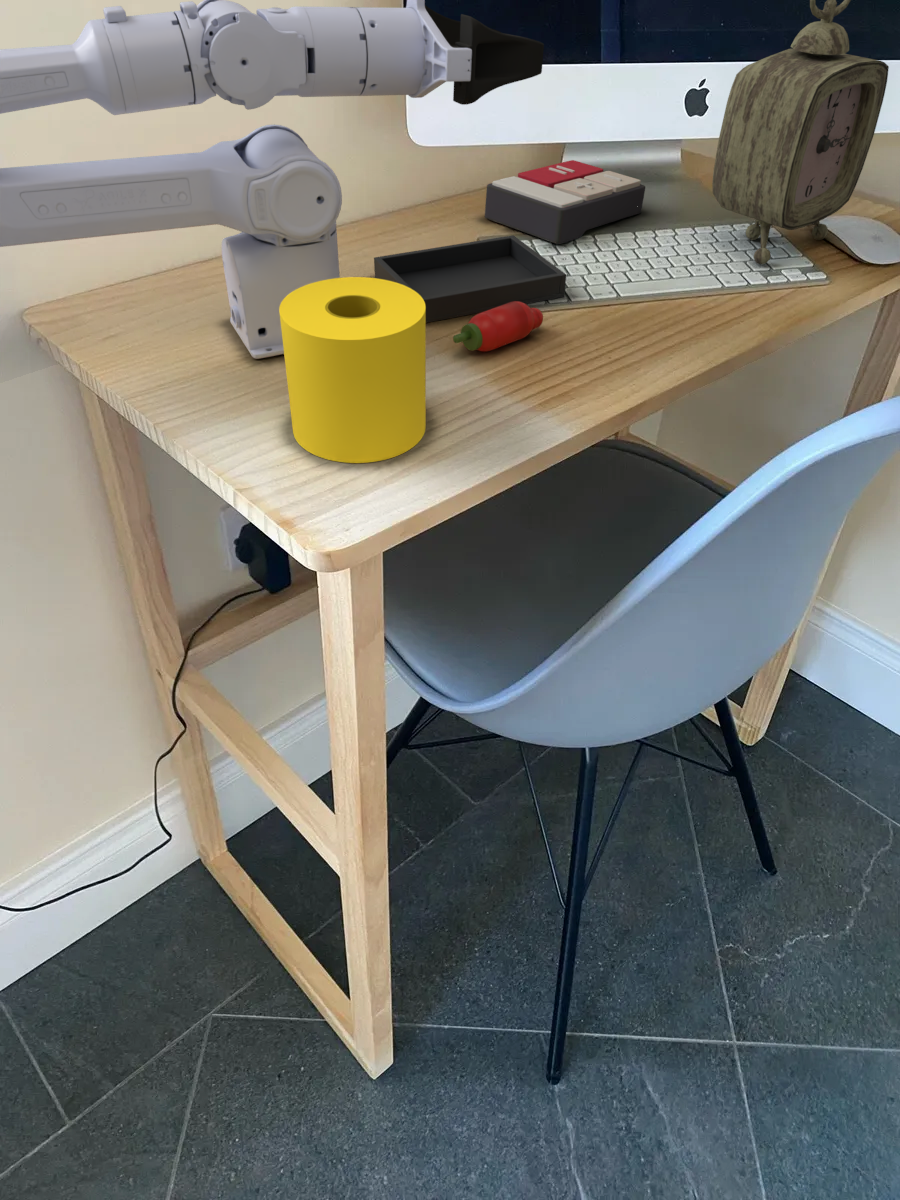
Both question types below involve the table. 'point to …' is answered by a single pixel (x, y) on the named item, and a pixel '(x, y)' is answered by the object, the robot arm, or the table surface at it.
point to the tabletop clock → (798, 131)
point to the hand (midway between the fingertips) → (519, 51)
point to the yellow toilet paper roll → (355, 367)
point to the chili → (499, 326)
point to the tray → (473, 276)
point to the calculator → (563, 200)
